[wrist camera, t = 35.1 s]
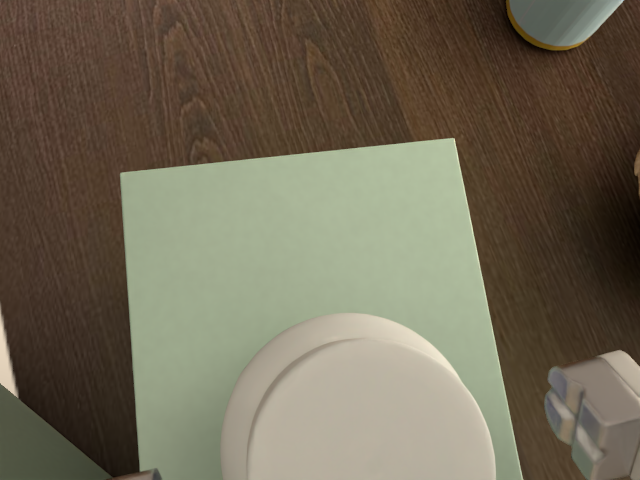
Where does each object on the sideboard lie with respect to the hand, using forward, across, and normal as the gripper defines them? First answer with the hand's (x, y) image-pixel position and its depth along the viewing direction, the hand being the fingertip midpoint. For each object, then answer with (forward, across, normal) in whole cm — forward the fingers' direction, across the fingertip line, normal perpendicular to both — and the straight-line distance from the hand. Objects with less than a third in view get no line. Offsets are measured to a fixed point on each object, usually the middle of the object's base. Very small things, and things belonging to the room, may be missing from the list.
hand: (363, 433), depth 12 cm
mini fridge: (+18, 0, -18) cm, 25 cm away
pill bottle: (+5, 0, -5) cm, 7 cm away
